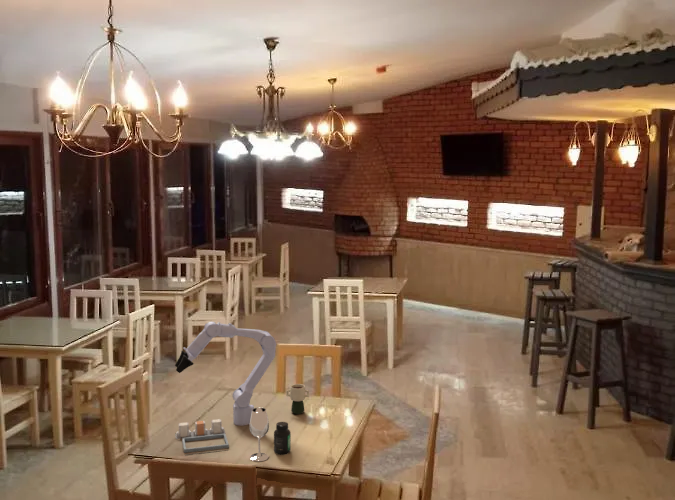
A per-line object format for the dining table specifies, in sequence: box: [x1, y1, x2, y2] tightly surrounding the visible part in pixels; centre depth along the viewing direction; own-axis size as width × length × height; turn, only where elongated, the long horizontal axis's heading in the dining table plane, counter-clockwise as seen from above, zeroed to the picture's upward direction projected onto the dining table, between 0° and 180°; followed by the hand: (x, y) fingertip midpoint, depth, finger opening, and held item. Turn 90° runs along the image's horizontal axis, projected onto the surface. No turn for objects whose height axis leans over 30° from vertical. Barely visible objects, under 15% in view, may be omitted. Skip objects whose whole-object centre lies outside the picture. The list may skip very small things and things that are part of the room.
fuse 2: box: [211, 418, 223, 434], centre depth 293 cm, size 4×3×5 cm
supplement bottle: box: [273, 421, 292, 456], centre depth 276 cm, size 7×7×12 cm
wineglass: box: [248, 406, 270, 462], centre depth 270 cm, size 8×8×20 cm
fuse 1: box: [178, 421, 190, 437], centre depth 289 cm, size 4×3×5 cm
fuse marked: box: [194, 420, 206, 435], centre depth 291 cm, size 4×3×5 cm
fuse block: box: [174, 426, 227, 440], centre depth 292 cm, size 21×6×3 cm, turn 106°
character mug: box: [285, 383, 310, 415], centre depth 319 cm, size 11×7×13 cm, turn 87°
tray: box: [181, 434, 230, 456], centre depth 281 cm, size 18×12×2 cm, turn 106°
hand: (177, 369), depth 292 cm, fingers open, 7 cm apart
